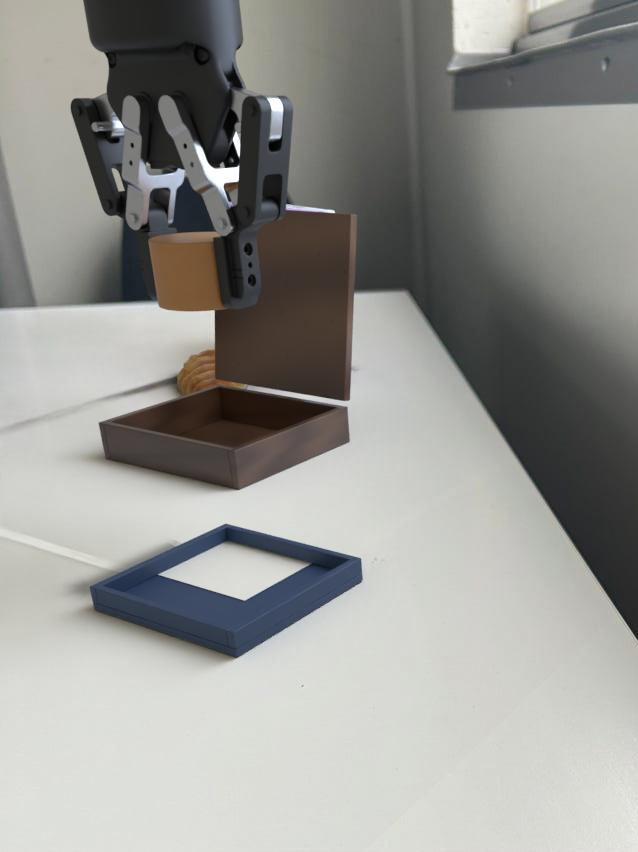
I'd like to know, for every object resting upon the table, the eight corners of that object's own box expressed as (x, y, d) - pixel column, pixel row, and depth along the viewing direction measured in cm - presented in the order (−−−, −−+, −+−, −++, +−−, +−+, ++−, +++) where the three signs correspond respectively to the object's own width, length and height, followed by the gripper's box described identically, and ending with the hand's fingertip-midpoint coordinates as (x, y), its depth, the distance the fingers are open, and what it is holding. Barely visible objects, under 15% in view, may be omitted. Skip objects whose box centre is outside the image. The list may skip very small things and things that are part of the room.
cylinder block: (139, 306, 57) (128, 240, 55) (203, 293, 61) (194, 229, 59) (205, 314, 55) (195, 245, 53) (267, 299, 58) (260, 234, 57)
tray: (94, 610, 59) (88, 586, 58) (228, 544, 67) (225, 523, 66) (236, 657, 54) (233, 632, 53) (363, 580, 62) (361, 557, 61)
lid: (351, 213, 77) (391, 219, 82) (213, 205, 84) (257, 210, 88) (344, 401, 82) (382, 397, 86) (214, 379, 89) (255, 376, 93)
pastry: (255, 408, 95) (250, 367, 93) (180, 415, 93) (174, 373, 92) (247, 383, 103) (242, 345, 101) (178, 389, 101) (171, 350, 100)
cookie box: (239, 497, 74) (234, 451, 73) (106, 465, 81) (98, 422, 79) (350, 448, 84) (347, 406, 83) (223, 423, 91) (218, 384, 89)
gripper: (-8, -57, 50) (64, 303, 58) (208, -83, 43) (255, 326, 52) (111, -43, 56) (162, 283, 64) (318, -65, 49) (345, 302, 57)
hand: (203, 301), depth 58 cm, fingers closed on cylinder block, 5 cm apart
